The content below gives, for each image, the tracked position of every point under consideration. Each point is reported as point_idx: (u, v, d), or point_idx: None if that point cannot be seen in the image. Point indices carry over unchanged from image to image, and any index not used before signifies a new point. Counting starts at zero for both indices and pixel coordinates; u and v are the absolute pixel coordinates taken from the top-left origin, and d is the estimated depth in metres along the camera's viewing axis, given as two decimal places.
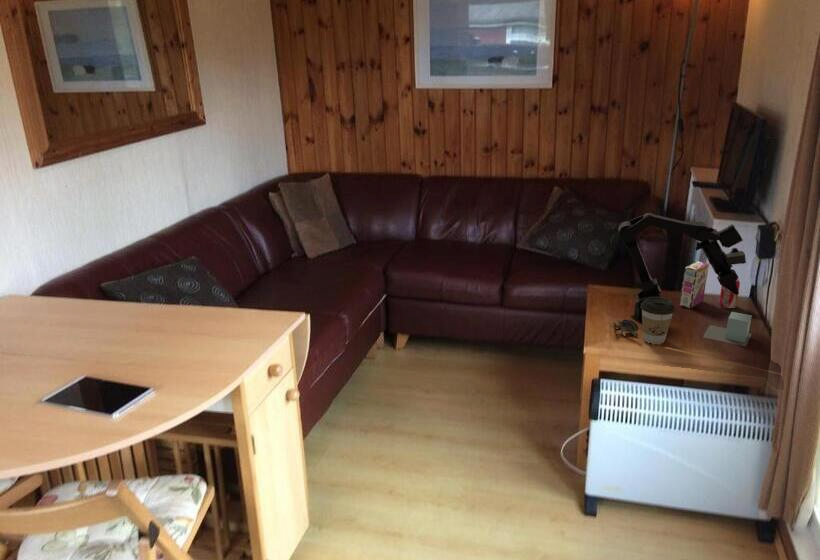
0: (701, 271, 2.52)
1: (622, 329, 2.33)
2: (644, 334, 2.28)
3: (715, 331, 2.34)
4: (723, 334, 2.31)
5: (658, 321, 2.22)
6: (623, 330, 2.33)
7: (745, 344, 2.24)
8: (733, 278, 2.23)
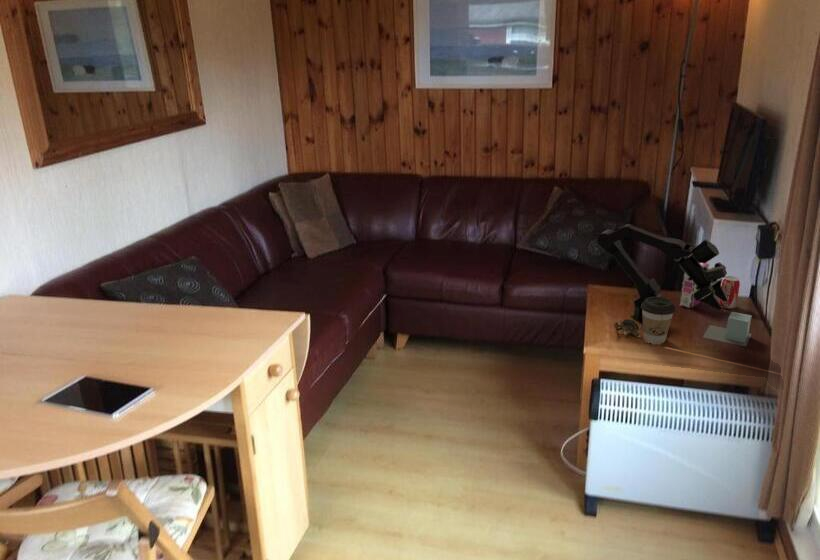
0: None
1: (623, 329, 2.33)
2: (644, 334, 2.28)
3: (715, 331, 2.34)
4: (723, 334, 2.31)
5: (659, 321, 2.22)
6: (624, 330, 2.33)
7: (745, 344, 2.24)
8: (706, 293, 2.21)
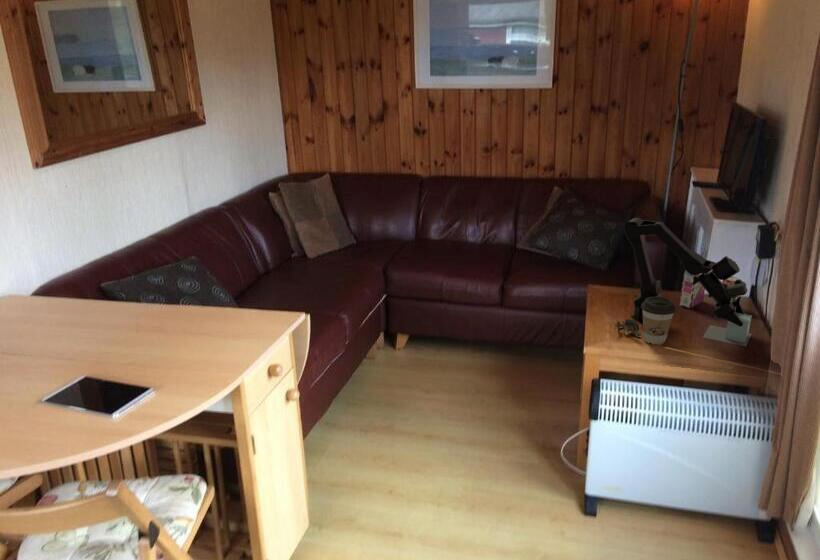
0: None
1: (625, 328, 2.34)
2: (645, 334, 2.28)
3: (715, 331, 2.34)
4: (723, 334, 2.31)
5: (659, 321, 2.22)
6: (625, 329, 2.33)
7: (745, 344, 2.24)
8: (726, 311, 2.19)
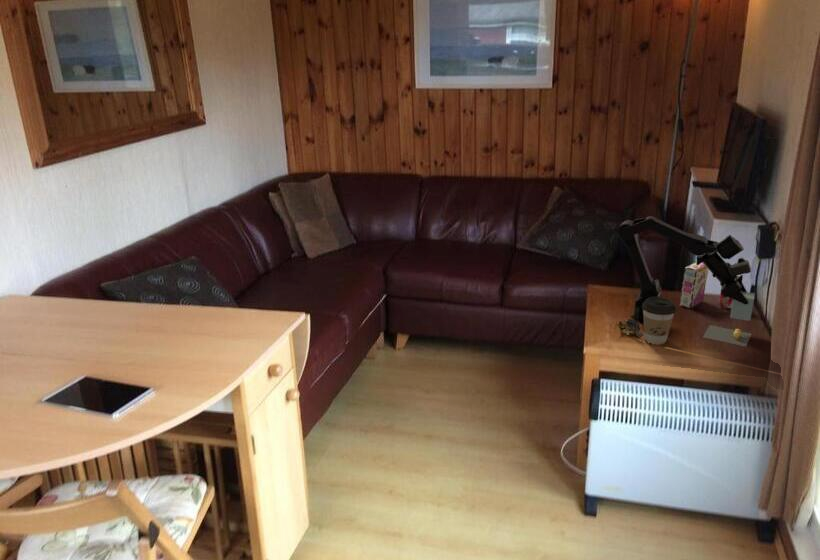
0: (701, 271, 2.52)
1: (626, 328, 2.34)
2: (645, 334, 2.28)
3: (715, 331, 2.34)
4: (723, 334, 2.31)
5: (660, 321, 2.22)
6: (627, 329, 2.33)
7: (745, 344, 2.24)
8: (734, 289, 2.19)
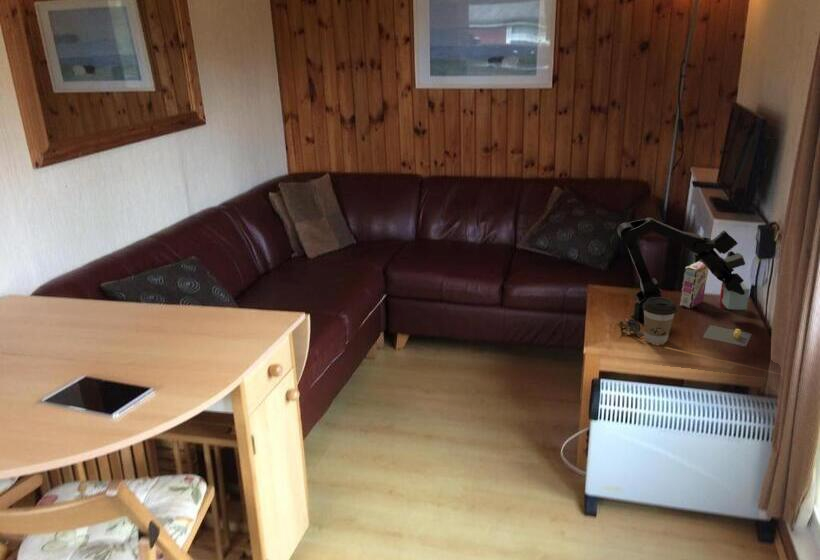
0: (701, 271, 2.52)
1: (627, 328, 2.34)
2: (646, 334, 2.28)
3: (715, 331, 2.34)
4: (723, 334, 2.31)
5: (660, 321, 2.22)
6: (628, 329, 2.33)
7: (745, 344, 2.24)
8: (739, 282, 2.28)
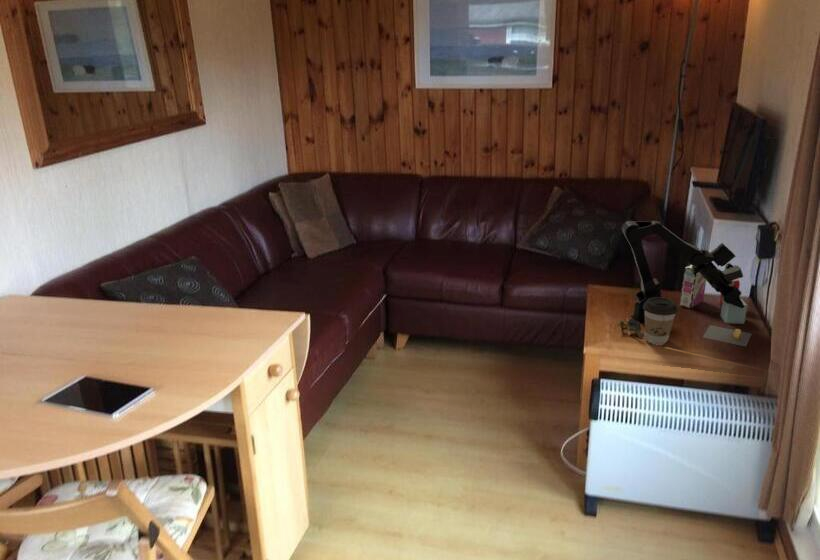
0: None
1: (628, 328, 2.34)
2: (646, 335, 2.28)
3: (715, 331, 2.34)
4: (723, 334, 2.31)
5: (661, 322, 2.21)
6: (628, 329, 2.33)
7: (745, 344, 2.24)
8: (737, 294, 2.30)
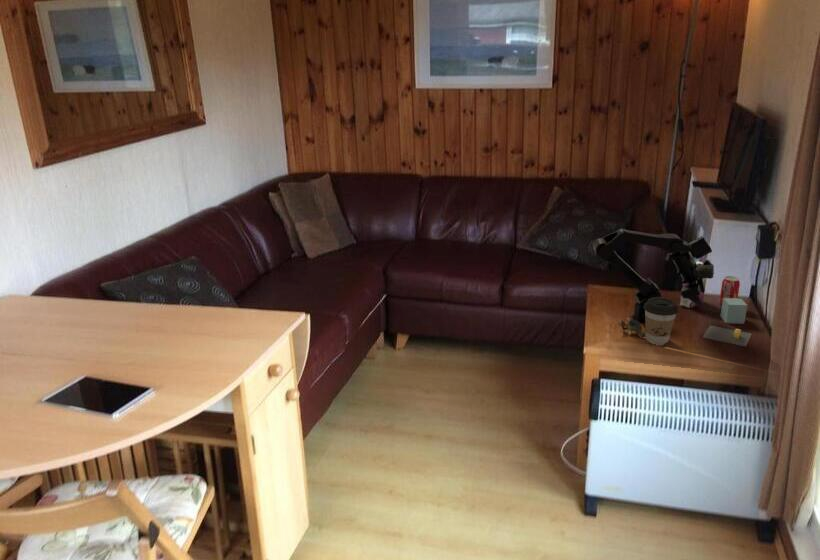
0: None
1: (628, 328, 2.34)
2: (647, 335, 2.27)
3: (715, 331, 2.34)
4: (723, 334, 2.31)
5: (661, 322, 2.21)
6: (629, 329, 2.33)
7: (745, 344, 2.24)
8: (694, 293, 2.32)
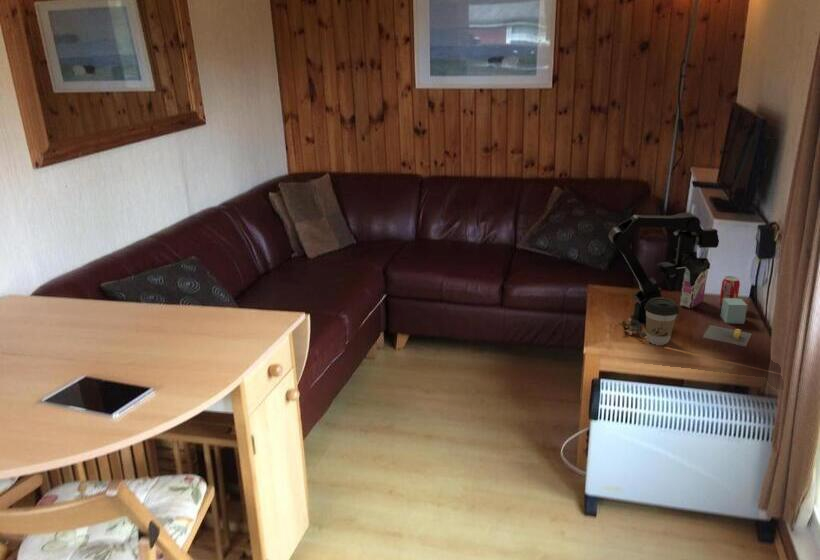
0: None
1: (629, 328, 2.34)
2: (648, 335, 2.27)
3: (715, 331, 2.34)
4: (723, 334, 2.31)
5: (662, 322, 2.21)
6: (630, 329, 2.33)
7: (745, 344, 2.24)
8: (664, 271, 2.35)
